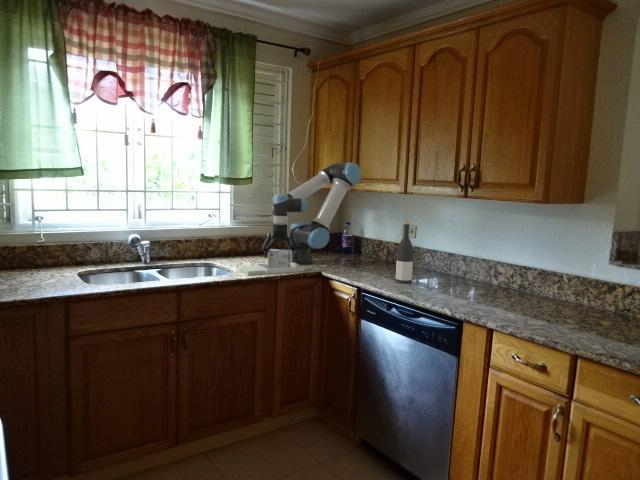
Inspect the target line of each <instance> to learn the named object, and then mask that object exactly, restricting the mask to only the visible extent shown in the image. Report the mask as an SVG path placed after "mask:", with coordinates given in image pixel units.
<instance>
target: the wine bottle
mask: <svg viewBox="0 0 640 480" xmlns="http://www.w3.org/2000/svg"><path fill="white" fill-rule="evenodd" d="M409 234H410V221H409V220H404V224H403V237H402V239H401V241H400V242H399V244H398V246H397V248H396V249H397V250H396V264H395V282H396V283H398V284H402V285H403V284H405V285H406V284H412V282H413V268H414V267H413V266H414V265H413V264H414V248H413V244H412V241H411V239H410V235H409Z"/></svg>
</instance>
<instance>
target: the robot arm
mask: <svg viewBox="0 0 640 480" xmlns="http://www.w3.org/2000/svg"><path fill="white" fill-rule="evenodd" d="M361 178H362V171H361V168H360V166H359V165H358V164H357V163H355V162H351V161H350V162H335V163H332V164H330V165H328V166H327V167H325V168H323V169H321V170H320V171H318V174H317V175H315V176H313V177H312V178H310V179H309V180H307V181H305V182H304V183H302V184H301V185H299V186H297V187H296V188H294V189H293V190H291V191H289V192H287V193H286V194H284V193H283V194H282V193H281V194H280V193H275V194H274V196H273V207H272V209H273V211H272V212H273V213H272V214H273V215H272V222H273V224H272V232H271V233H270V232H267V233H266V238H265V239H264V241H263V242H262V243H263V244H262V246H261V248H260V250H261V251H262V252H264V253H263V254H264V255H263V257H264V259H265V264H269V250H271V249H272V247H273V245H274V244H275V243H276V242H284V244H285V245H286V246H287V247H288V250H290V263H292V262H293V263H296V264H299V265H302V266H305V265H311V264H313V261H314V260H313V256H312V253H311V249H317V250H318V249H323V248H325V247H326V246H327V245H328V243H329V242H330V230H331V229H330V225H331V223H332V221H333V218H334V217H335V215H336V214H337V211H338V209H339V207H340V205H341V203H342V201H343V199H344V198H345V195H346V193H347V192H348V191H350V190H351V189H352V187H353V185H356V184H358V183H359V182H360V181H361ZM332 184H333V185H332ZM330 185H332V186H331V188H330V190H329V192H328V194H327V196H326V197H325V199H324V201H323V204H322V206H321V207H320V209H319V211H318V213H317V215H316V217H315V219H312V220H311V221H310V222H302V223H301V222H298V223H291V224H290V228H289V232H287V231H288V224H287V223H288V217H289V216H288V213H304V212H305V213H306V212H307V210H308V206H309V204H308V201H307V199H306V198H307V197H309V196H310V195H311V196H312V194H314V193H316V192H317V191H319V190H320V189H322V188H324V187H325V186H326V187H328V186H330ZM287 237H288V239H289V240H288V239H287Z"/></svg>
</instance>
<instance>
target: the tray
mask: <svg viewBox="0 0 640 480" xmlns="http://www.w3.org/2000/svg"><path fill="white" fill-rule="evenodd" d="M265 263H266V262H265ZM265 263H264V262H261V263H253V266H256V267H258V268H260V269H263V270H265V274H266V275H273V274H284V273H297V272H305V265H299V264H296V263H293V262H292V263H290V267H285V268H272V269H268V265H269V264H265ZM265 274H264V275H265Z"/></svg>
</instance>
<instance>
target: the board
mask: <svg viewBox="0 0 640 480" xmlns="http://www.w3.org/2000/svg"><path fill="white" fill-rule="evenodd" d="M238 272H240V273H243V274H244V275H246V276H260V275H265V270H263V269H260V268H258V267H256V266H254V265H252V266H240V267H239V266H238Z"/></svg>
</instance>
